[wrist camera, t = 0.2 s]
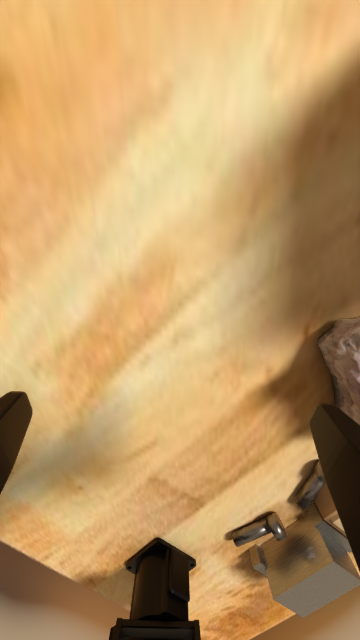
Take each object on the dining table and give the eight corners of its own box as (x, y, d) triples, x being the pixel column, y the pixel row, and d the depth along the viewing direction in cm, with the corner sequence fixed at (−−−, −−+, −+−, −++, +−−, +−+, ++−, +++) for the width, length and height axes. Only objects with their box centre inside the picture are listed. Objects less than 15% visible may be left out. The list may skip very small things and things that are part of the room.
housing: (282, 571, 34) (298, 625, 30) (248, 548, 33) (260, 601, 28) (347, 528, 32) (376, 580, 27) (313, 502, 31) (338, 552, 26)
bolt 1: (238, 538, 32) (243, 562, 30) (228, 527, 32) (233, 550, 29) (281, 520, 31) (289, 542, 29) (272, 507, 31) (279, 529, 28)
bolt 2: (307, 500, 30) (317, 521, 28) (289, 494, 30) (297, 515, 28) (334, 463, 29) (347, 483, 26) (315, 456, 28) (326, 475, 26)
